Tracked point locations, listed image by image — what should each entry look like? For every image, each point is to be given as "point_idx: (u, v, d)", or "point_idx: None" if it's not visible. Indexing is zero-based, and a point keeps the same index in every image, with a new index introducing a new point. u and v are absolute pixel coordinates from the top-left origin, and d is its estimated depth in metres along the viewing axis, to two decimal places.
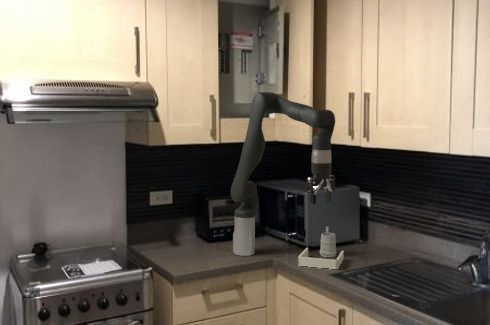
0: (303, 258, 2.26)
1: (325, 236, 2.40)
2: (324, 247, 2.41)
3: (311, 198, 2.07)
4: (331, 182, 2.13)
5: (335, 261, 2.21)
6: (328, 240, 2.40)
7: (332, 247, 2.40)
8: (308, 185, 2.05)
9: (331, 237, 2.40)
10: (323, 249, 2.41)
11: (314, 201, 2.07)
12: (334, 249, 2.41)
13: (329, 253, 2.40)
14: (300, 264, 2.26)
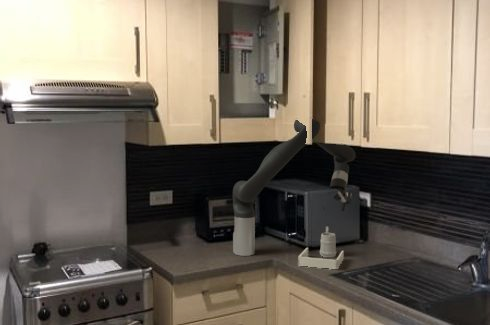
0: (303, 258, 2.26)
1: (325, 236, 2.40)
2: (324, 247, 2.41)
3: (345, 206, 2.51)
4: None
5: (335, 261, 2.21)
6: (328, 240, 2.40)
7: (332, 247, 2.40)
8: (350, 197, 2.53)
9: (331, 237, 2.40)
10: (323, 249, 2.41)
11: None
12: (334, 249, 2.41)
13: (329, 253, 2.40)
14: (300, 264, 2.26)
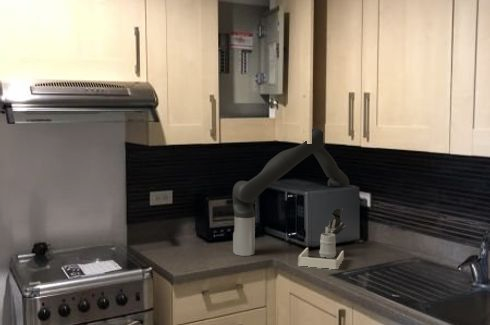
0: (303, 258, 2.26)
1: (324, 237, 2.40)
2: (324, 247, 2.40)
3: None
4: None
5: (335, 261, 2.21)
6: (328, 240, 2.39)
7: (332, 247, 2.40)
8: (340, 229, 2.53)
9: (331, 237, 2.39)
10: (323, 249, 2.40)
11: None
12: (334, 249, 2.41)
13: (329, 253, 2.39)
14: (300, 264, 2.26)
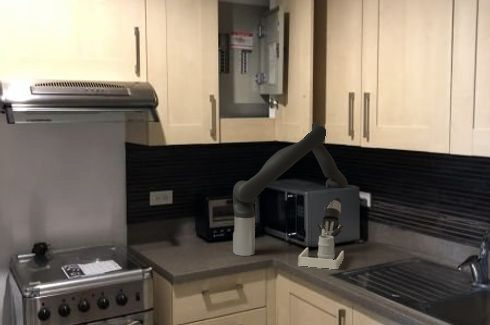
0: (303, 258, 2.26)
1: (324, 239, 2.35)
2: (323, 250, 2.35)
3: None
4: (321, 229, 2.51)
5: (335, 261, 2.21)
6: (327, 243, 2.35)
7: (331, 250, 2.35)
8: (339, 231, 2.47)
9: (330, 240, 2.35)
10: (322, 252, 2.36)
11: None
12: (333, 252, 2.37)
13: (328, 256, 2.35)
14: (300, 264, 2.26)
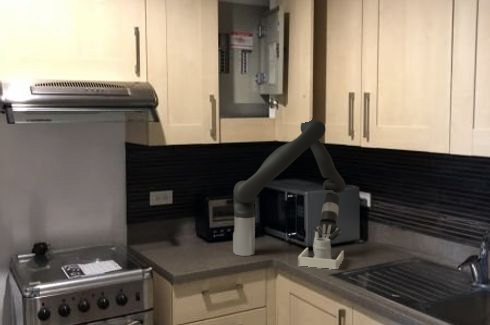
0: (303, 258, 2.26)
1: (322, 242, 2.29)
2: (321, 253, 2.30)
3: None
4: (318, 232, 2.44)
5: (335, 261, 2.21)
6: (325, 246, 2.30)
7: (329, 253, 2.31)
8: (336, 235, 2.40)
9: (328, 242, 2.30)
10: (320, 256, 2.30)
11: None
12: (330, 254, 2.32)
13: None
14: (300, 264, 2.26)
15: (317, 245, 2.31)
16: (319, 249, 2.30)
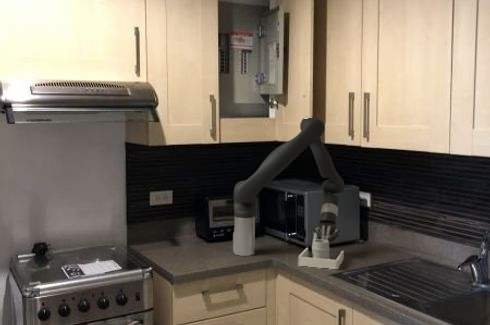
0: (303, 258, 2.26)
1: (320, 244, 2.27)
2: (320, 255, 2.27)
3: None
4: None
5: (335, 261, 2.21)
6: (324, 247, 2.27)
7: (327, 254, 2.28)
8: (335, 236, 2.37)
9: (326, 244, 2.27)
10: (318, 257, 2.27)
11: None
12: (328, 256, 2.29)
13: None
14: (300, 264, 2.26)
15: (315, 247, 2.28)
16: (317, 251, 2.27)
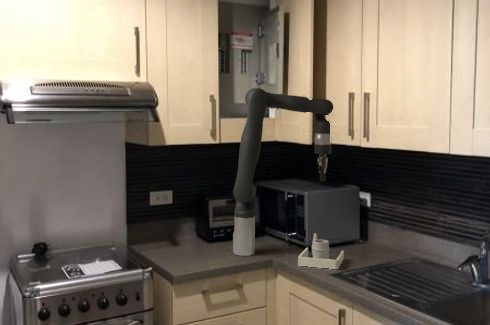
0: (303, 258, 2.26)
1: (320, 244, 2.27)
2: (319, 255, 2.27)
3: (321, 176, 2.47)
4: None
5: (335, 261, 2.21)
6: (324, 247, 2.27)
7: (327, 254, 2.28)
8: (320, 167, 2.44)
9: (326, 244, 2.27)
10: (318, 257, 2.27)
11: (324, 178, 2.47)
12: (328, 256, 2.29)
13: None
14: (300, 264, 2.26)
15: (315, 247, 2.28)
16: (317, 251, 2.27)
